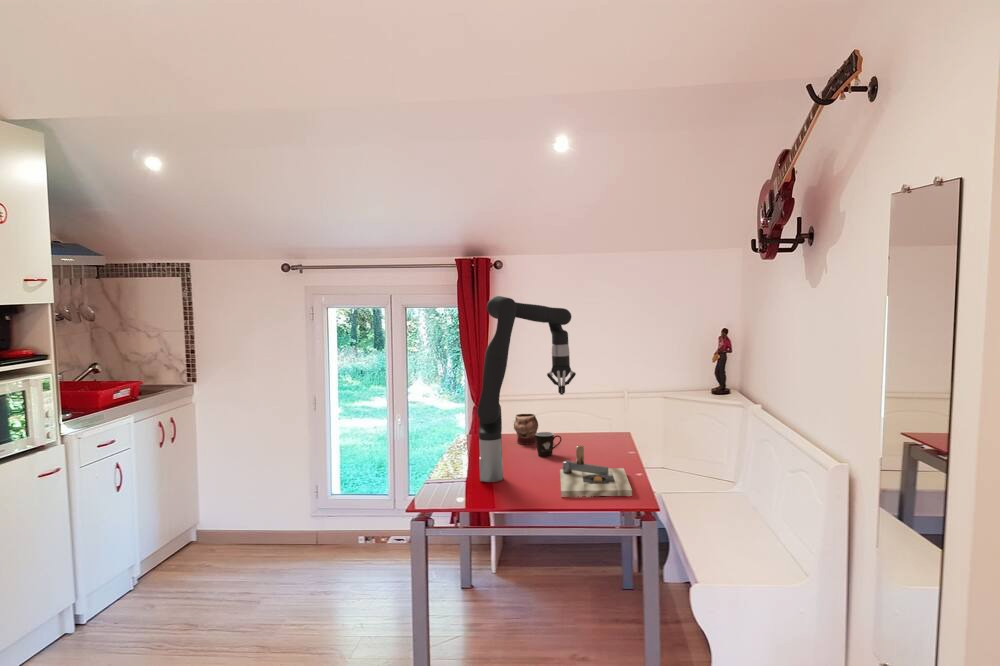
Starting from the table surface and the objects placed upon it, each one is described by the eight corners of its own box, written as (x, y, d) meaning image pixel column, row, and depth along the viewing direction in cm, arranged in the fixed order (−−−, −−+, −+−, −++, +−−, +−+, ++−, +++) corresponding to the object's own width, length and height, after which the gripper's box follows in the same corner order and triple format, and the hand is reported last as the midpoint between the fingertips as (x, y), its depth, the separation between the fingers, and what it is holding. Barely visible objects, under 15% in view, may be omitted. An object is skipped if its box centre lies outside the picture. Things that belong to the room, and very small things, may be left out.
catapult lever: (561, 472, 269) (560, 445, 268) (565, 470, 271) (565, 443, 271) (605, 479, 257) (605, 450, 256) (610, 477, 260) (609, 448, 259)
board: (561, 497, 246) (561, 491, 246) (560, 475, 274) (560, 469, 274) (632, 496, 244) (631, 489, 244) (623, 474, 272) (623, 468, 272)
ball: (590, 483, 260) (596, 482, 262) (597, 487, 257) (603, 485, 260) (592, 475, 259) (598, 473, 262) (598, 478, 257) (604, 477, 259)
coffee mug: (534, 457, 303) (533, 436, 302) (537, 452, 311) (536, 431, 310) (559, 458, 300) (558, 436, 299) (562, 453, 308) (561, 432, 308)
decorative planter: (516, 437, 344) (515, 410, 343) (539, 436, 342) (538, 410, 341) (512, 446, 324) (511, 418, 323) (537, 446, 323) (536, 418, 322)
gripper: (545, 356, 283) (546, 396, 284) (576, 355, 282) (577, 395, 283) (545, 354, 291) (546, 393, 292) (575, 353, 289) (576, 392, 291)
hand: (561, 394), depth 288 cm, fingers closed
